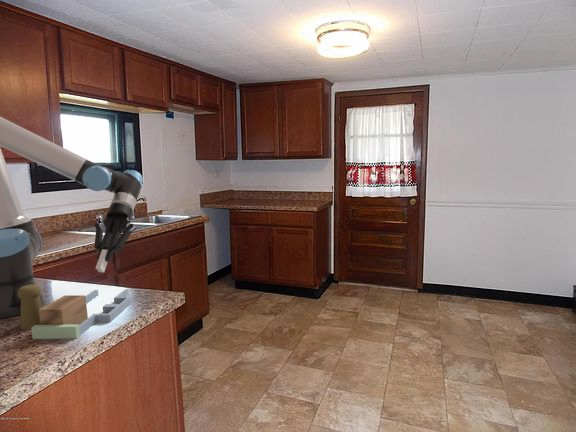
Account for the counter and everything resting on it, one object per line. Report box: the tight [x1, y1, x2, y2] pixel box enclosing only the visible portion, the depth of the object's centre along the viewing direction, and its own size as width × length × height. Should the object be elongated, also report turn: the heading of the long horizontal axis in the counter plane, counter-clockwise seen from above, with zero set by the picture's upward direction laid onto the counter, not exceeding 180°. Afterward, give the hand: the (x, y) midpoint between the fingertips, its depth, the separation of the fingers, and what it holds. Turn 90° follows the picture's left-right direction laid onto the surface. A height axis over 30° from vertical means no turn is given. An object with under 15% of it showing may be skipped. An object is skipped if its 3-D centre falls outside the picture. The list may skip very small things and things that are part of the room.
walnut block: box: [39, 294, 89, 325], centre depth 102 cm, size 6×10×7 cm, turn 176°
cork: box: [18, 284, 44, 331], centre depth 103 cm, size 6×6×11 cm
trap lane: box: [30, 288, 133, 340], centre depth 110 cm, size 15×30×3 cm, turn 179°
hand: (99, 270), depth 117 cm, fingers closed
